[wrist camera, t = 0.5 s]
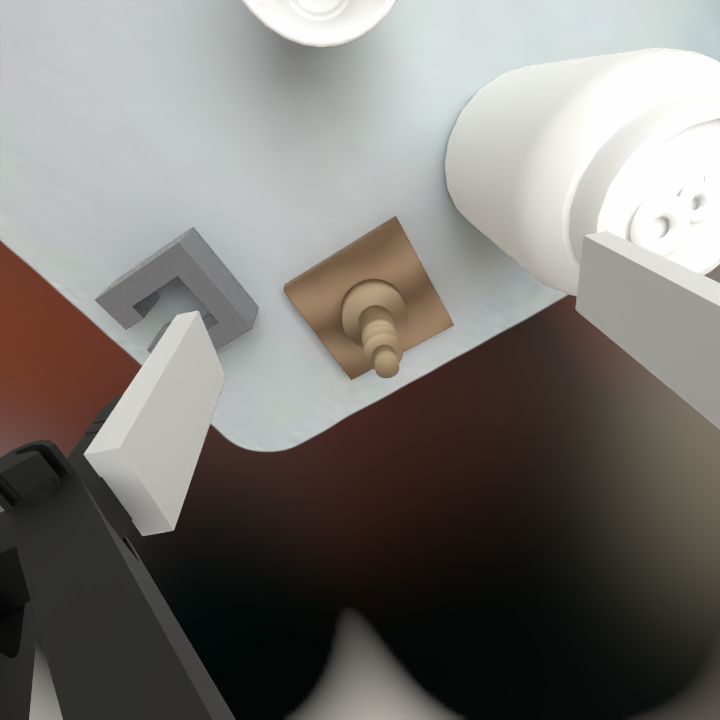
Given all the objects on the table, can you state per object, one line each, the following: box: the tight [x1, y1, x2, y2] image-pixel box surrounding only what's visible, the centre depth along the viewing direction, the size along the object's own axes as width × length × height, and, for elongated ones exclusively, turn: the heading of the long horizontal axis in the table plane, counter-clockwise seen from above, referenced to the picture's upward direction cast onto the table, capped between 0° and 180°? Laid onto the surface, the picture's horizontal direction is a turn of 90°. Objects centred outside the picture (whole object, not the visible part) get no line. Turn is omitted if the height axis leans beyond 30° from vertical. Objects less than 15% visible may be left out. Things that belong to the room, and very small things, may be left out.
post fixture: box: [284, 216, 454, 380], centre depth 37 cm, size 12×12×12 cm
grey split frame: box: [95, 227, 258, 353], centre depth 38 cm, size 9×9×4 cm
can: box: [445, 47, 720, 296], centre depth 27 cm, size 12×12×20 cm
